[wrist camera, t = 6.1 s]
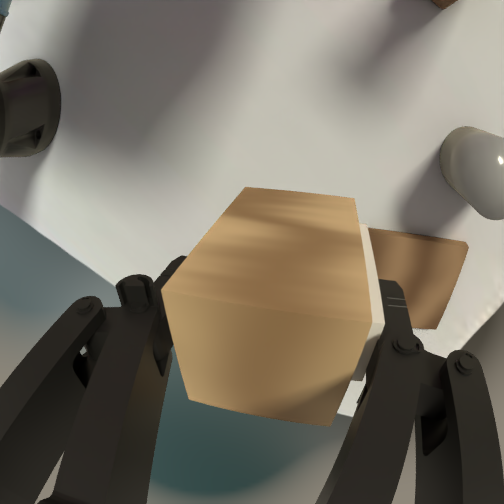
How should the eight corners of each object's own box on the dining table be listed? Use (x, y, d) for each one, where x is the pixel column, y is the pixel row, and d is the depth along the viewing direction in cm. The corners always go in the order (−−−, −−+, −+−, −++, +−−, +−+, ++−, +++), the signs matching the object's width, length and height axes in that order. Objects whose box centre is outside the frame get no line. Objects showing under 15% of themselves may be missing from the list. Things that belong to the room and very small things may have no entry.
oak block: (246, 276, 16) (188, 399, 10) (245, 187, 14) (161, 289, 7) (338, 289, 15) (330, 426, 9) (354, 198, 13) (372, 322, 6)
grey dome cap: (434, 186, 26) (458, 213, 20) (444, 119, 22) (474, 128, 16) (487, 198, 24) (518, 225, 18) (499, 135, 21) (535, 150, 15)
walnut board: (348, 315, 36) (349, 321, 35) (367, 227, 30) (368, 232, 29) (434, 323, 33) (436, 329, 32) (465, 241, 27) (468, 247, 26)
